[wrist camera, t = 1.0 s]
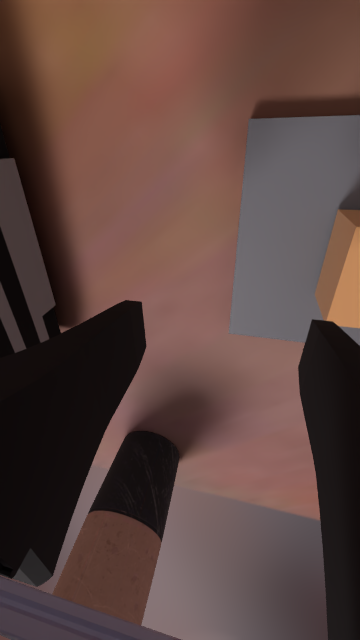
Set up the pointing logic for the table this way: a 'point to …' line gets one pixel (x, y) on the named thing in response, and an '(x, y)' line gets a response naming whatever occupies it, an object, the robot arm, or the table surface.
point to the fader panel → (291, 220)
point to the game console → (21, 269)
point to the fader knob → (341, 272)
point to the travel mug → (123, 530)
